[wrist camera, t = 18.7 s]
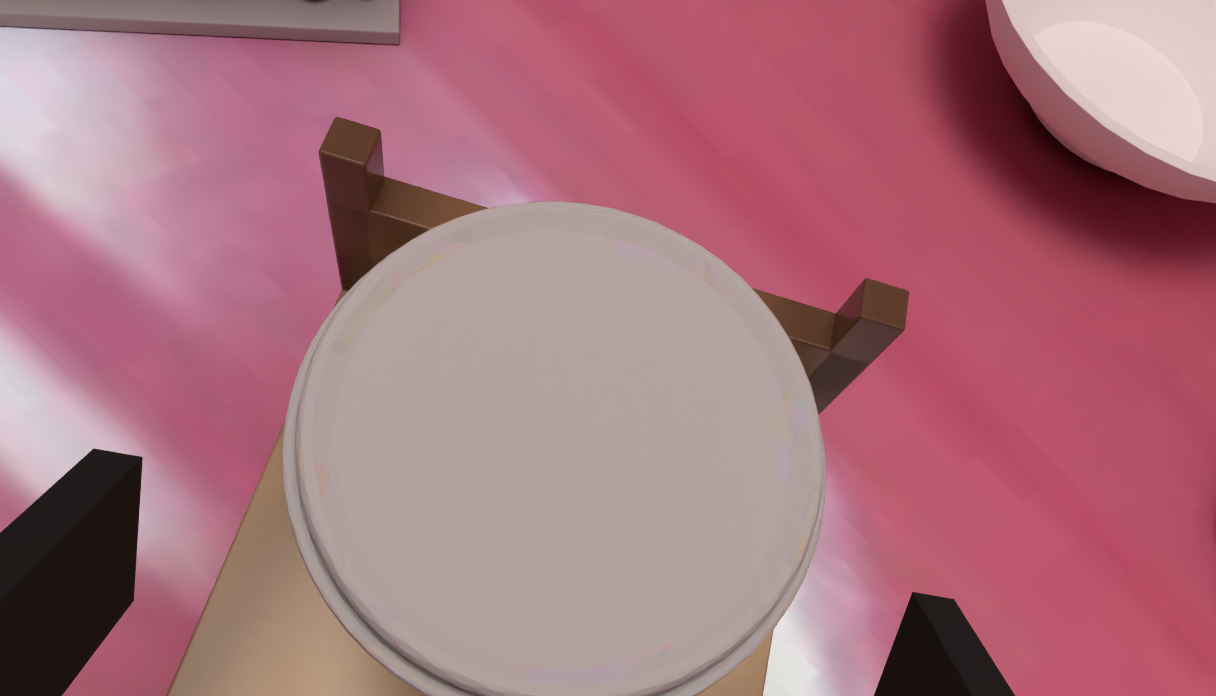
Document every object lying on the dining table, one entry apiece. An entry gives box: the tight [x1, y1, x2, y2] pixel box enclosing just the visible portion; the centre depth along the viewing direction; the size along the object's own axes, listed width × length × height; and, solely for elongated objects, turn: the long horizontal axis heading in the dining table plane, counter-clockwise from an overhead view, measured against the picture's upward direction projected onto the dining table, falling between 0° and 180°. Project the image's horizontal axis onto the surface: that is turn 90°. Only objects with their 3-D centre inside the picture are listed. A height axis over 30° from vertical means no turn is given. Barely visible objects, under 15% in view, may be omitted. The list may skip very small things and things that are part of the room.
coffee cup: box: [282, 201, 826, 696], centre depth 21 cm, size 9×9×12 cm
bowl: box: [985, 0, 1216, 203], centre depth 45 cm, size 20×20×7 cm
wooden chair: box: [166, 117, 909, 696], centre depth 27 cm, size 15×16×14 cm
